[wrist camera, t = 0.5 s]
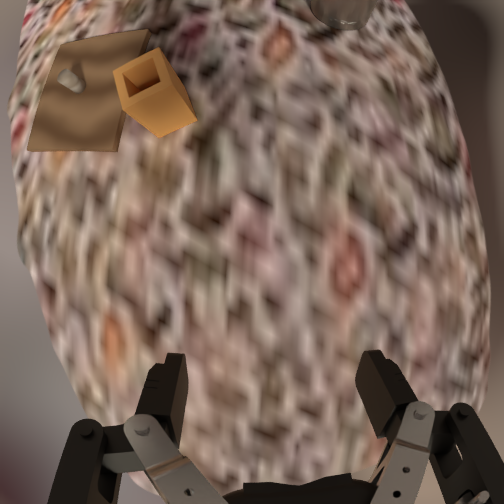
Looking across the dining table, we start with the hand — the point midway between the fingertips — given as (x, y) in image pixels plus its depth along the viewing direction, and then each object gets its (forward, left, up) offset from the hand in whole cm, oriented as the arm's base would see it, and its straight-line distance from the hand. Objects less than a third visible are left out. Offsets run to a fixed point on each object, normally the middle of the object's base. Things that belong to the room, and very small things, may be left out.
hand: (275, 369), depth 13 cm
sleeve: (-20, -16, -25) cm, 35 cm away
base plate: (-24, -32, -25) cm, 47 cm away
